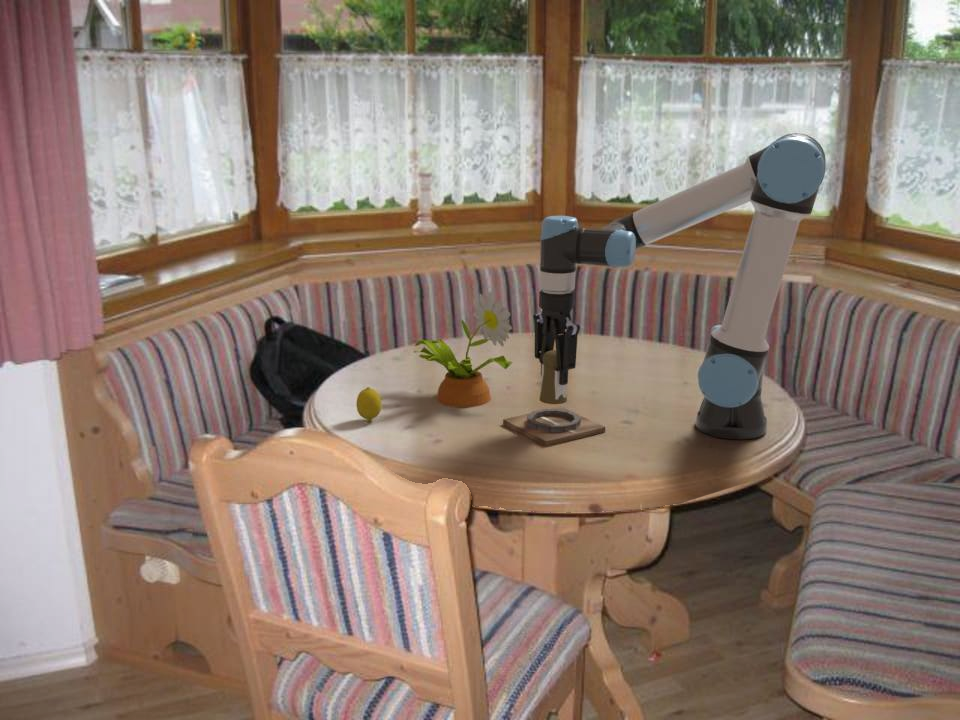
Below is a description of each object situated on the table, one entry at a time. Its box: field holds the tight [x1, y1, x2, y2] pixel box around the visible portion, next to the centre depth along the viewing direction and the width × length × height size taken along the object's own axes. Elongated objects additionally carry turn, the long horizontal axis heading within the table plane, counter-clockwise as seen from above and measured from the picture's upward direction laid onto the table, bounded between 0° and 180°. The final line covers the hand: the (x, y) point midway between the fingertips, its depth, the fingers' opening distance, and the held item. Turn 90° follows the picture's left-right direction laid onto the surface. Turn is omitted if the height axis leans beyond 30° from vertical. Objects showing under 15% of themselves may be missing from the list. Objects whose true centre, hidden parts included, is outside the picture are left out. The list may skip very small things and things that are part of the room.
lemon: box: [356, 386, 382, 422], centre depth 219 cm, size 6×6×8 cm
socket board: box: [502, 406, 606, 447], centre depth 216 cm, size 16×16×2 cm
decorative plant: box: [413, 291, 513, 408], centre depth 232 cm, size 27×24×25 cm
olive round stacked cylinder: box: [539, 349, 568, 405], centre depth 213 cm, size 6×6×11 cm
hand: (553, 394), depth 214 cm, fingers closed on olive round stacked cylinder, 4 cm apart
